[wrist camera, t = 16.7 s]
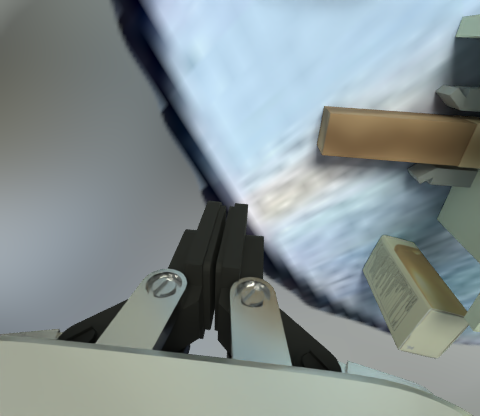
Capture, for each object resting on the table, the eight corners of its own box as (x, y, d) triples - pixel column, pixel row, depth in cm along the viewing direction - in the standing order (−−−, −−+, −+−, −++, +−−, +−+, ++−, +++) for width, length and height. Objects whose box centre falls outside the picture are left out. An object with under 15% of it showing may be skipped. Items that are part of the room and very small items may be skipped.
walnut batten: (324, 105, 29) (331, 112, 26) (476, 116, 29) (501, 125, 25) (316, 144, 31) (322, 155, 28) (458, 156, 31) (480, 168, 27)
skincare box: (391, 276, 39) (436, 362, 29) (360, 269, 39) (395, 352, 28) (416, 239, 36) (478, 321, 25) (383, 231, 36) (431, 310, 25)
